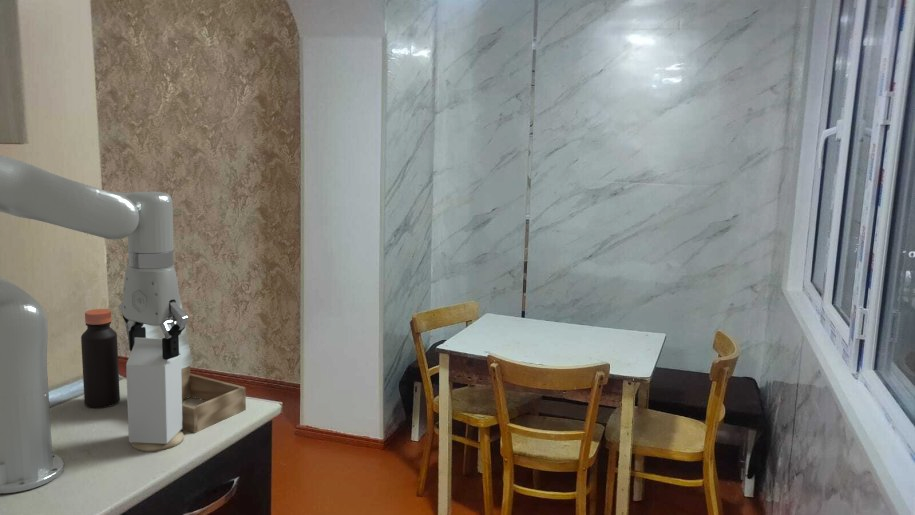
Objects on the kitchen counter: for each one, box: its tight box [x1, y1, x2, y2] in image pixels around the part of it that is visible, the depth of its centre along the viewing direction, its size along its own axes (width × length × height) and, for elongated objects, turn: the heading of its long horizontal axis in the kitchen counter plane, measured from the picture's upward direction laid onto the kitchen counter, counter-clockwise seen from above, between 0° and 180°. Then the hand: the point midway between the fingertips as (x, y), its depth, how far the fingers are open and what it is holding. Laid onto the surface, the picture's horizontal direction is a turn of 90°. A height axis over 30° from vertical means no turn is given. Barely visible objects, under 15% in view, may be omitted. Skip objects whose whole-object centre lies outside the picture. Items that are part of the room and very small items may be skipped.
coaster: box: [131, 430, 185, 452], centre depth 132 cm, size 9×9×1 cm
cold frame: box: [124, 297, 247, 434], centre depth 145 cm, size 14×19×22 cm
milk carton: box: [125, 337, 183, 444], centre depth 130 cm, size 7×7×19 cm
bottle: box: [80, 308, 121, 409], centre depth 148 cm, size 7×7×20 cm
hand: (154, 353), depth 129 cm, fingers closed on milk carton, 8 cm apart
